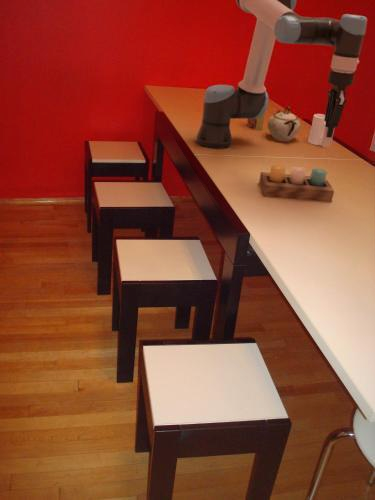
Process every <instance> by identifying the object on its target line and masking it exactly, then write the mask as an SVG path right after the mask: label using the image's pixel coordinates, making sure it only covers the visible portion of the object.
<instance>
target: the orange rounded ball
mask: <svg viewBox="0 0 375 500" xmlns="http://www.w3.org/2000/svg"><path fill="white" fill-rule="evenodd" d="M285 172H286V167H285V166H283V165H279V164H273V165H271V167H270V171H269V173H270V176H269V182H274V183H283V179H284V174H286V173H285Z"/></svg>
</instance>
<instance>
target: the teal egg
mask: <svg viewBox="0 0 375 500" xmlns="http://www.w3.org/2000/svg"><path fill="white" fill-rule="evenodd" d="M327 173H328V171H327V170H325V169H322V168H312V170H311V174H310V176H311V178H310V183H309V184H310V185H311V186H321V187H323V186H324V182H325V178H326V177H327ZM326 179H327V178H326Z"/></svg>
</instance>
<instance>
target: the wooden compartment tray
mask: <svg viewBox="0 0 375 500" xmlns="http://www.w3.org/2000/svg"><path fill="white" fill-rule="evenodd" d="M290 175H291V174H288V173H285V174H284V179H283V183H274V182H269V176H270V172H264V171H262V172H260V176H259V181H258V184H259V187H260V190H261V194H262V196H263V197H268V198H279V199H280V198H281V199H290V200H291V199H292V200H304V201H315V202H327V203H328V202H329V203H332V202H333V198H334V193H335V189H334V188H333V186H332V185H331V184H330V182H329V181H328V179H327V178H325V182H324V186H323V187H321V186H311V185H310V184H309V183H310V178H311V175H309V176H308V175H305V178H304V183H303V185H297V184H290V183H289V180H290Z"/></svg>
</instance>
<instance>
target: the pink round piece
mask: <svg viewBox="0 0 375 500" xmlns="http://www.w3.org/2000/svg"><path fill="white" fill-rule="evenodd" d="M306 174H307V169H306V168H304V167H302V166H301V167H300V166H292V167H291V172H290V174H289V175H290V180H289V183H290V184H297V185H303V183H304V178H305V176H306Z"/></svg>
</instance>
